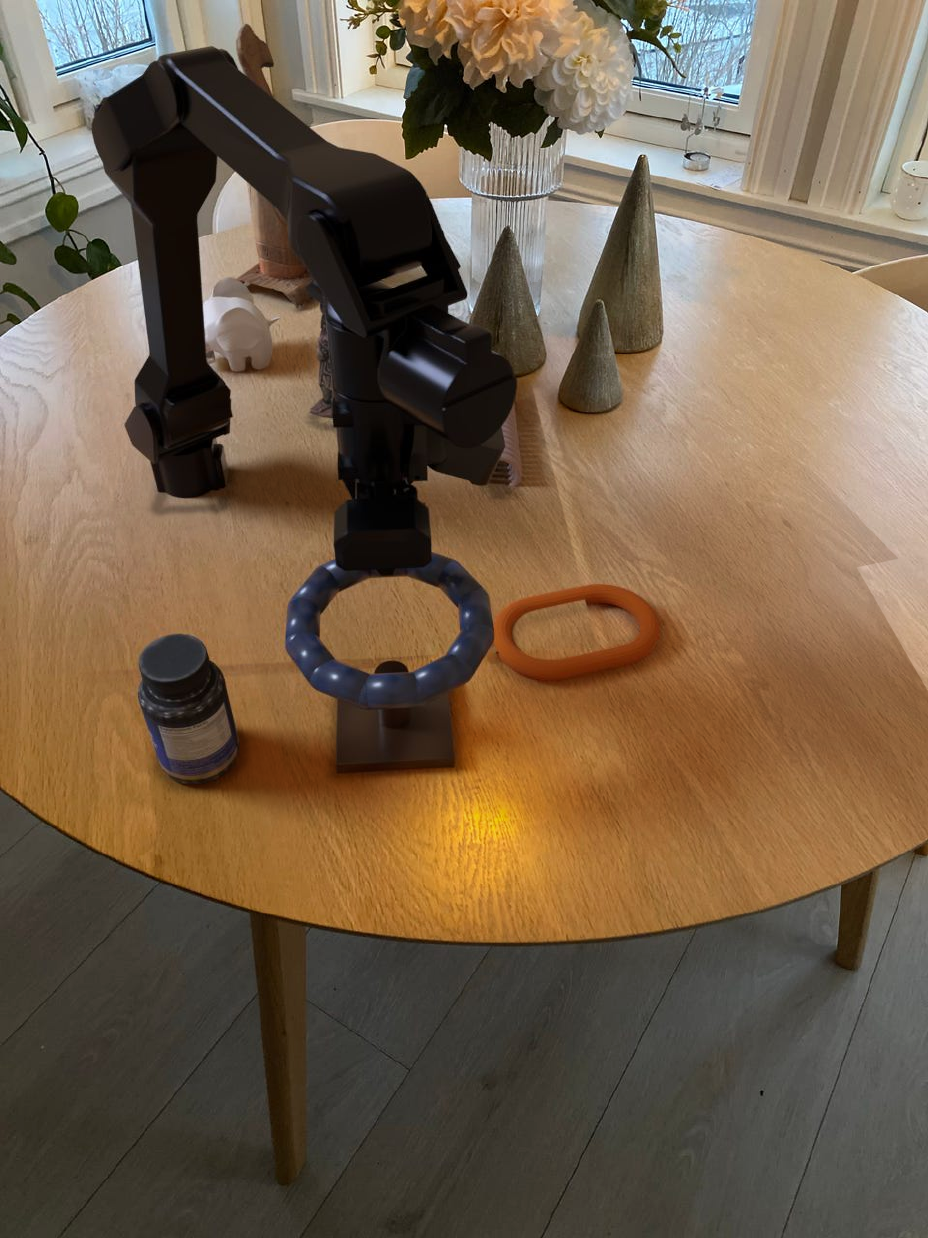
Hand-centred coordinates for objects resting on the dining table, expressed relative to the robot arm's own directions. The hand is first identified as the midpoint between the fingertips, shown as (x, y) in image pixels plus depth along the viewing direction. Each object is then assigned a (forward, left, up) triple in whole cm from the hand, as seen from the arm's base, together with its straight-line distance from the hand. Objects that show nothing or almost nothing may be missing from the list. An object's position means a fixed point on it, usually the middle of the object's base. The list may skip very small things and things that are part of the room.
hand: (386, 563), depth 73 cm
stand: (0, -6, -12) cm, 13 cm away
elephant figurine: (-18, +54, -12) cm, 58 cm away
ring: (0, -6, 0) cm, 6 cm away
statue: (-4, +41, -12) cm, 42 cm away
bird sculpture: (-13, +75, -12) cm, 77 cm away
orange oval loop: (+16, +3, -12) cm, 20 cm away
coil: (+12, +33, -12) cm, 37 cm away
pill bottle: (-15, -8, -12) cm, 21 cm away
